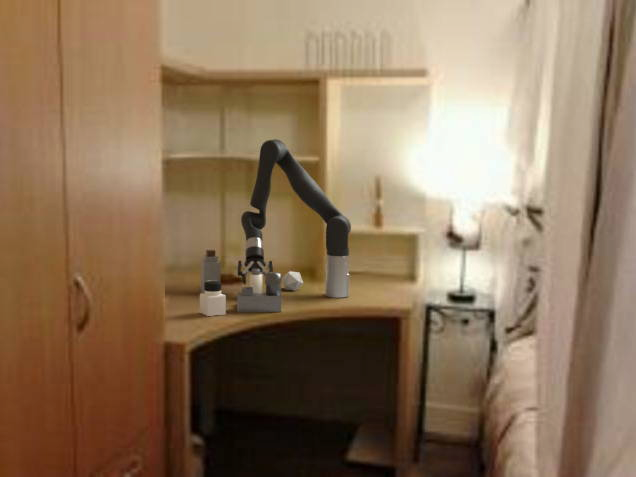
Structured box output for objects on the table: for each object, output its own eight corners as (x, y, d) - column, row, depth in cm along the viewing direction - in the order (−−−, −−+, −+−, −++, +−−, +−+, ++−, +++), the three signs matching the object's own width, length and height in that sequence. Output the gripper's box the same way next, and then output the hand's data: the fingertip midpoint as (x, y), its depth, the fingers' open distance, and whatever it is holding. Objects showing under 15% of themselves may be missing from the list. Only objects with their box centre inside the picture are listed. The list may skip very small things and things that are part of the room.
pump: (261, 297, 264) (262, 268, 263) (262, 300, 259) (263, 270, 258) (248, 297, 263) (249, 268, 262) (249, 300, 258) (249, 270, 257)
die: (287, 294, 276) (301, 276, 275) (274, 281, 280) (288, 264, 280) (296, 297, 283) (310, 280, 282) (283, 285, 287) (297, 268, 287)
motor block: (277, 304, 253) (278, 268, 251) (281, 311, 240) (282, 274, 238) (236, 304, 250) (236, 268, 249) (237, 312, 238) (238, 274, 236)
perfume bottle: (200, 292, 271) (200, 249, 269) (216, 291, 274) (216, 249, 272) (203, 295, 265) (204, 251, 263) (220, 294, 267) (220, 251, 265)
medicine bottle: (226, 314, 233) (226, 281, 232) (207, 317, 229) (208, 283, 228) (217, 310, 239) (217, 278, 238) (199, 313, 235) (199, 280, 234)
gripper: (237, 245, 266) (238, 278, 256) (272, 245, 268) (274, 278, 258) (237, 256, 272) (237, 288, 262) (271, 256, 274) (272, 288, 264)
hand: (255, 283), depth 260 cm, fingers open, 8 cm apart
